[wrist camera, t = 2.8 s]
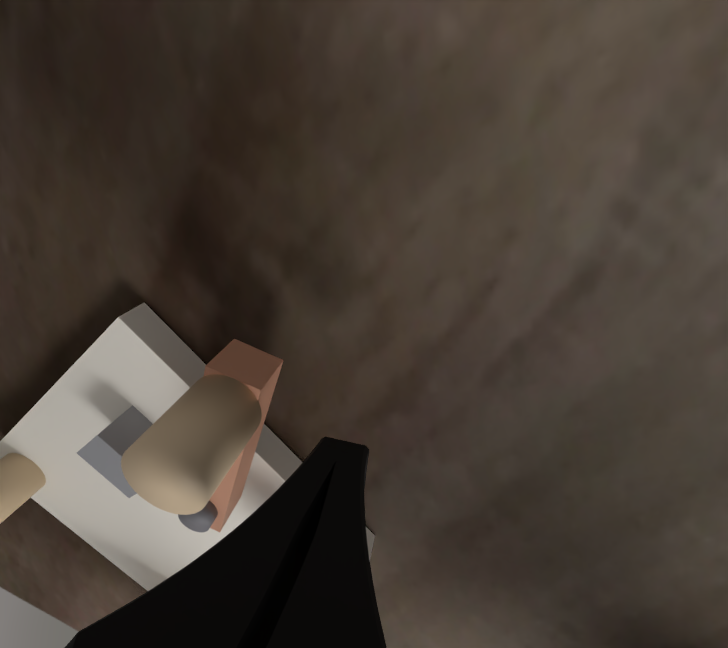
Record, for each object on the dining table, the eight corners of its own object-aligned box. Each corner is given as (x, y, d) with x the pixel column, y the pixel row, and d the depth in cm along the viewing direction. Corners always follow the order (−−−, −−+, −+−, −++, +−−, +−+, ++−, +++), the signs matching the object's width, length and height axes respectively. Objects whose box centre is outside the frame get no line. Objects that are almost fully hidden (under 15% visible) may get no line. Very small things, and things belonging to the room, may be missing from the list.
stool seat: (375, 535, 21) (339, 707, 15) (199, 598, 28) (125, 732, 22) (144, 302, 17) (-29, 400, 11) (9, 441, 24) (-144, 548, 18)
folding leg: (246, 499, 19) (178, 618, 14) (196, 476, 19) (113, 588, 14) (290, 363, 15) (214, 470, 10) (226, 335, 15) (123, 429, 10)
